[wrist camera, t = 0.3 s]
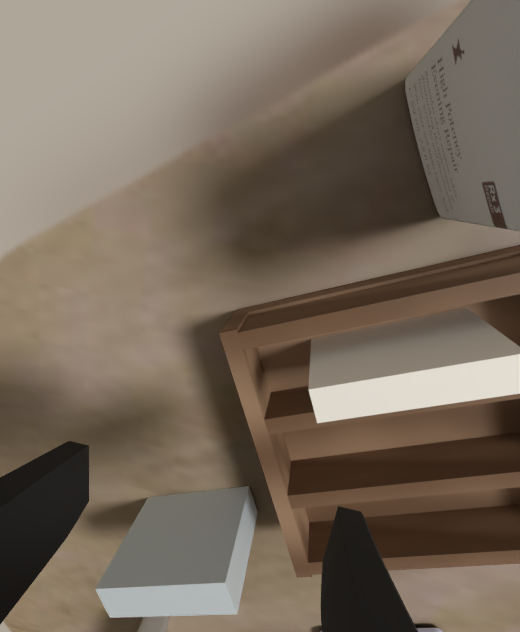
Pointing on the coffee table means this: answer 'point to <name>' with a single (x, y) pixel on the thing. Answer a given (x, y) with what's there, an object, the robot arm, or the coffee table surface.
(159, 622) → the lighter
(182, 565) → the pale blue rectangular prism
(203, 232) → the coffee table surface
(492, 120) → the skincare box
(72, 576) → the coffee table surface
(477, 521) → the rack
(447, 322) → the tile
